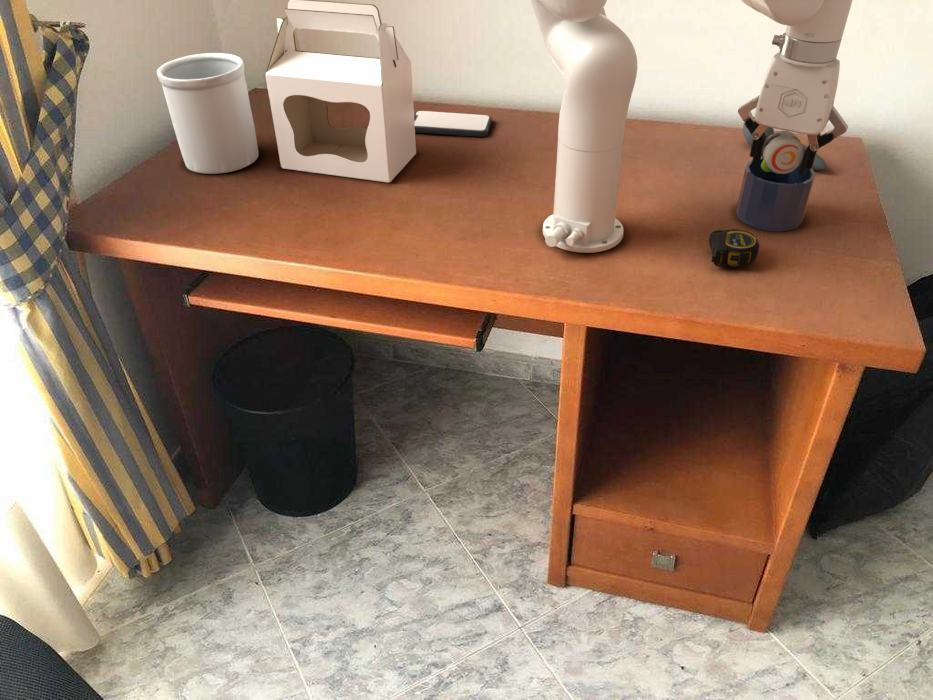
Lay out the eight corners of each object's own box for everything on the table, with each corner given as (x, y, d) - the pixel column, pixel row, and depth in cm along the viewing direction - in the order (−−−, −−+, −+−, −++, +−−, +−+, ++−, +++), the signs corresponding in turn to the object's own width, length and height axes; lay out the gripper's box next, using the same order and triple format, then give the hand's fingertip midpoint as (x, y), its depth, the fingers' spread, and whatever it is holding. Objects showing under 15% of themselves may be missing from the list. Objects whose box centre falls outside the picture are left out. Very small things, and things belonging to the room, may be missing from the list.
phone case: (492, 122, 161) (416, 117, 163) (492, 114, 160) (416, 109, 162) (486, 139, 154) (407, 133, 156) (486, 131, 153) (406, 126, 155)
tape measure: (706, 247, 119) (710, 225, 117) (752, 250, 118) (757, 228, 116) (709, 270, 114) (713, 248, 112) (758, 274, 113) (763, 251, 111)
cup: (794, 237, 121) (807, 190, 116) (728, 222, 125) (738, 175, 120) (808, 210, 128) (821, 164, 123) (745, 196, 132) (755, 152, 127)
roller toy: (754, 163, 124) (762, 128, 120) (794, 163, 124) (804, 128, 120) (761, 175, 120) (770, 139, 117) (803, 175, 120) (813, 139, 117)
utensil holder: (165, 172, 143) (139, 76, 132) (205, 140, 155) (184, 49, 144) (238, 179, 140) (218, 82, 130) (273, 146, 152) (257, 54, 141)
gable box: (279, 168, 144) (251, 7, 127) (312, 141, 154) (290, -12, 136) (391, 183, 138) (378, 17, 121) (417, 154, 148) (409, -4, 131)
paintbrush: (836, 169, 140) (844, 142, 137) (820, 176, 138) (827, 149, 135) (744, 135, 153) (749, 110, 150) (728, 142, 150) (733, 117, 147)
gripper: (741, 46, 111) (717, 163, 122) (871, 65, 104) (833, 188, 115) (754, 33, 117) (730, 147, 127) (879, 51, 110) (842, 169, 120)
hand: (779, 165), depth 121 cm, fingers closed on roller toy, 6 cm apart
